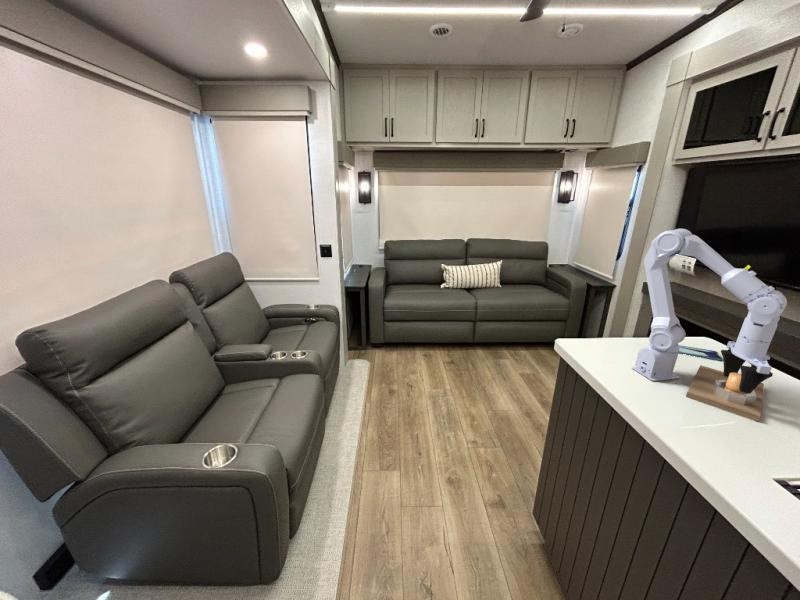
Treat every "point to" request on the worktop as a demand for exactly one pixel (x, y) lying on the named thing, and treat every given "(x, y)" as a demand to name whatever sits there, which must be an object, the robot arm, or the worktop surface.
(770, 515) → the worktop surface
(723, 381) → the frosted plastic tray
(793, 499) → the worktop surface
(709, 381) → the mount board
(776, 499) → the worktop surface
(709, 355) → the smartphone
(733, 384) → the orange rounded cylinder
